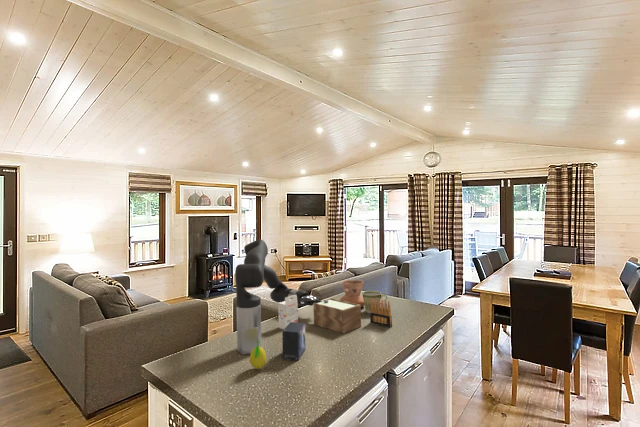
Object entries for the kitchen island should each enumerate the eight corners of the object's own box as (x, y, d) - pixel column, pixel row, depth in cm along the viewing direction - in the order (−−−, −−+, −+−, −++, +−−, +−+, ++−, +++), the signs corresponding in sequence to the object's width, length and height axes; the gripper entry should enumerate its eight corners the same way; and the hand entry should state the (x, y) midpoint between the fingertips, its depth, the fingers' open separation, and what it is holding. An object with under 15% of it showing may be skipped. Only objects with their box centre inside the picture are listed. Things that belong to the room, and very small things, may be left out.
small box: (299, 361, 119) (298, 331, 119) (281, 360, 120) (281, 330, 120) (306, 349, 129) (305, 322, 129) (290, 348, 130) (289, 321, 130)
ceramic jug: (357, 312, 177) (357, 285, 178) (334, 308, 185) (334, 282, 185) (371, 304, 193) (371, 280, 193) (348, 301, 200) (349, 277, 201)
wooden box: (361, 326, 154) (360, 304, 154) (343, 333, 146) (343, 310, 146) (331, 318, 168) (330, 298, 168) (313, 324, 159) (313, 303, 159)
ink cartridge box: (290, 323, 161) (290, 292, 161) (298, 325, 158) (297, 294, 158) (278, 328, 154) (277, 296, 154) (286, 330, 151) (285, 297, 151)
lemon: (260, 363, 118) (259, 334, 118) (271, 367, 114) (270, 338, 114) (244, 370, 112) (244, 340, 112) (256, 375, 109) (255, 344, 109)
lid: (358, 309, 154) (358, 303, 154) (343, 314, 147) (343, 308, 147) (329, 302, 167) (329, 297, 167) (314, 306, 160) (314, 301, 160)
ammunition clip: (392, 326, 154) (391, 300, 154) (390, 327, 152) (389, 301, 152) (372, 322, 160) (371, 297, 161) (370, 323, 159) (369, 297, 159)
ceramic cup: (361, 313, 174) (360, 294, 174) (364, 308, 184) (364, 290, 184) (386, 315, 171) (386, 295, 171) (388, 310, 180) (388, 291, 180)
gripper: (289, 292, 171) (312, 298, 159) (307, 288, 180) (331, 293, 168) (289, 307, 171) (312, 314, 159) (308, 302, 180) (331, 308, 168)
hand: (322, 303), depth 163 cm, fingers closed
